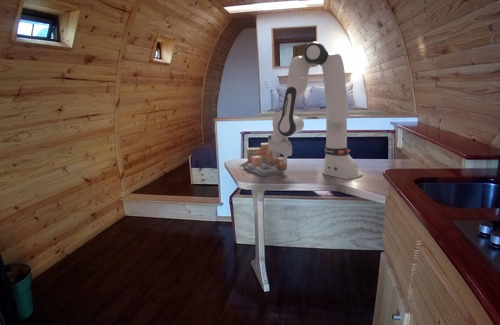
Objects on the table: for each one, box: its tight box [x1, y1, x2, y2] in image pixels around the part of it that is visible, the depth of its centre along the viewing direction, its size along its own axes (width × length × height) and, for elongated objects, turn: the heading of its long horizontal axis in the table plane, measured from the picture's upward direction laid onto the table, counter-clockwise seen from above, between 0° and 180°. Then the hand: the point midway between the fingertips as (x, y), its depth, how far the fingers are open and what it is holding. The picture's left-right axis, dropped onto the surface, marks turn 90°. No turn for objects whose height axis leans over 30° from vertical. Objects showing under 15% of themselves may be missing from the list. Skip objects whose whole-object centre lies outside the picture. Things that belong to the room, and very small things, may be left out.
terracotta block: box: [274, 156, 288, 170], centre depth 189 cm, size 5×5×6 cm
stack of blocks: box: [246, 142, 281, 164], centre depth 205 cm, size 21×6×12 cm, turn 88°
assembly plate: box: [243, 156, 282, 178], centre depth 184 cm, size 22×13×8 cm, turn 29°
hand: (279, 160), depth 188 cm, fingers open, 8 cm apart
